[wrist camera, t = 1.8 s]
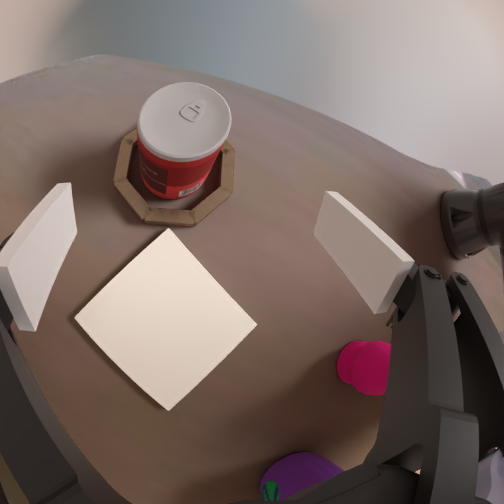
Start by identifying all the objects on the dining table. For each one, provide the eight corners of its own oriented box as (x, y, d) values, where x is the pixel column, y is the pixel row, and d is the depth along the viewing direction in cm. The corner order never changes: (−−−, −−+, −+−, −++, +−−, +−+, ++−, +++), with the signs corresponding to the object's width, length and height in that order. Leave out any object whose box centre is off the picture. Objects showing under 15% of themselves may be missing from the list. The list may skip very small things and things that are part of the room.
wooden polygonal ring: (184, 105, 31) (185, 98, 29) (252, 178, 33) (256, 173, 31) (97, 164, 27) (94, 158, 25) (167, 250, 28) (167, 248, 27)
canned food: (216, 152, 32) (244, 99, 21) (193, 212, 30) (212, 173, 20) (158, 131, 30) (164, 70, 19) (130, 189, 28) (119, 140, 17)
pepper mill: (324, 375, 33) (451, 423, 14) (349, 327, 35) (482, 344, 16) (356, 391, 34) (471, 432, 15) (379, 348, 36) (497, 368, 17)
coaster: (168, 229, 29) (168, 227, 28) (254, 323, 31) (257, 324, 30) (76, 316, 24) (74, 317, 23) (168, 407, 26) (168, 411, 25)
